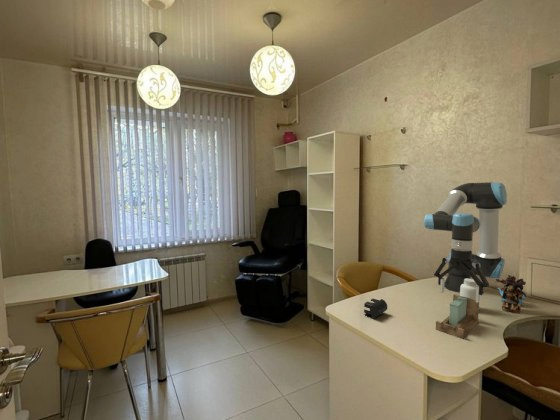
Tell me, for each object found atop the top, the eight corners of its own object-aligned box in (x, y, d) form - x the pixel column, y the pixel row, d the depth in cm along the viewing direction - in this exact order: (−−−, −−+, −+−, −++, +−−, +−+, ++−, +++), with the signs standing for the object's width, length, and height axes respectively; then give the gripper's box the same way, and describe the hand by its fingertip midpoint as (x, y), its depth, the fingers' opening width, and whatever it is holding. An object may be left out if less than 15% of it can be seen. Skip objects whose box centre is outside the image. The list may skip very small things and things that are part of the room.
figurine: (499, 312, 135) (504, 276, 134) (492, 305, 144) (496, 271, 143) (526, 316, 132) (531, 279, 131) (517, 309, 141) (521, 274, 139)
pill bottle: (481, 313, 134) (483, 283, 133) (463, 311, 136) (464, 281, 135) (473, 306, 142) (475, 278, 141) (456, 305, 144) (457, 276, 143)
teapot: (493, 300, 150) (494, 287, 150) (498, 298, 154) (498, 285, 153) (522, 308, 141) (523, 294, 140) (526, 305, 144) (527, 291, 144)
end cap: (377, 321, 126) (378, 306, 125) (363, 316, 131) (363, 302, 130) (387, 314, 133) (387, 300, 132) (373, 309, 138) (374, 296, 137)
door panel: (448, 326, 119) (449, 303, 118) (458, 317, 127) (459, 296, 126) (456, 329, 117) (458, 306, 116) (465, 320, 125) (467, 298, 124)
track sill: (435, 329, 118) (436, 306, 118) (453, 314, 133) (454, 294, 132) (462, 338, 111) (463, 314, 110) (477, 322, 125) (479, 300, 125)
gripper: (427, 246, 126) (425, 291, 128) (495, 255, 108) (492, 308, 109) (433, 243, 131) (432, 287, 133) (499, 252, 113) (496, 303, 114)
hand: (459, 296), depth 121 cm, fingers open, 13 cm apart
